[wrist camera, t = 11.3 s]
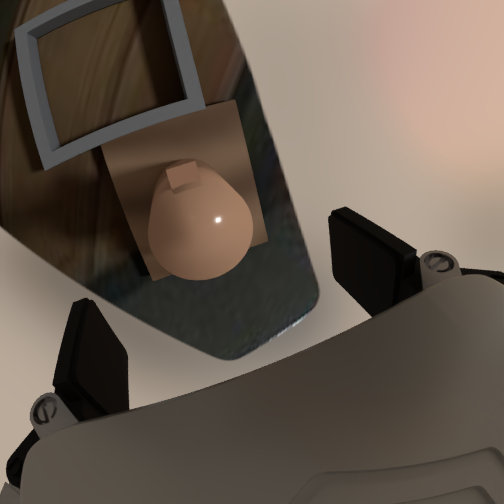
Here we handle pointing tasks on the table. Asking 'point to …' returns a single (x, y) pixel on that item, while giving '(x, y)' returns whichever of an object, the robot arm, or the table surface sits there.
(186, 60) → the holder frame
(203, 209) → the tan tapered capsule
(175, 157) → the board
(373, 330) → the robot arm
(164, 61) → the table surface
